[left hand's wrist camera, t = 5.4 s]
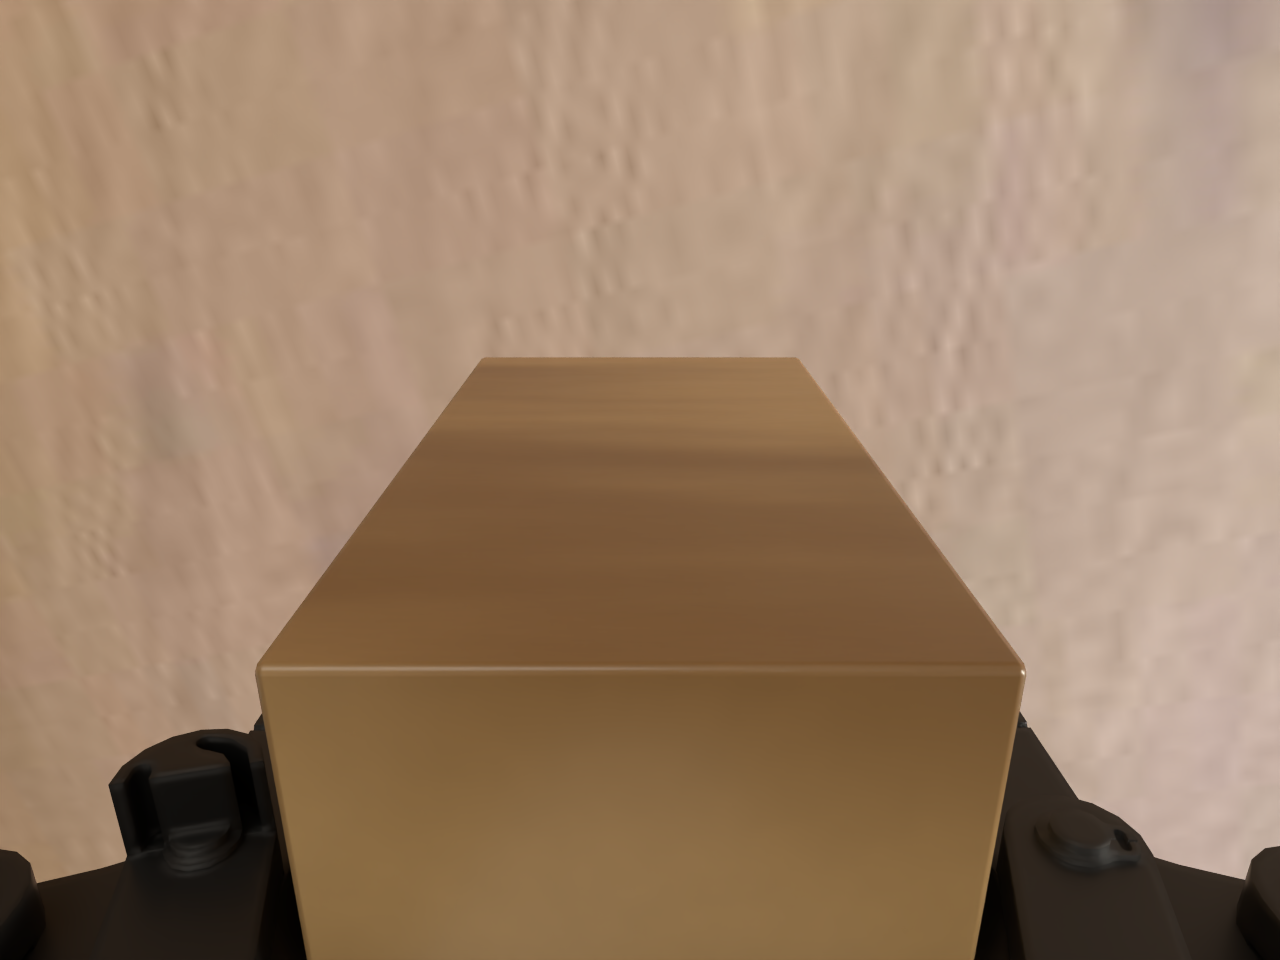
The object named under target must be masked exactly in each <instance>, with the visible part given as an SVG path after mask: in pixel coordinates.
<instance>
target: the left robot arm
mask: <svg viewBox="0 0 1280 960" xmlns="http://www.w3.org/2000/svg"><path fill="white" fill-rule="evenodd" d="M109 789H110V793H111V797H112V800H113V804H114V808H115V812H116V815H117V819H118V823H119V827H120V830H121V834H122V838H123V842H124V846H125V849H126V853H127V858H126V860H125V861H124V862H121V863H118V864H114V865H111V866H108V867H104V868H101V869H97V870H92V871H88V872H84V873H79V874H75V875H71V876H66V877H62V878H58V879H53V880H49V881H45V882H40V883H36V880H35V877H34V874H33V870H32V867H31V864H30V863H29V862H28V861H27V860H26V859H25V858H24V857H22V856H21V855H20V854H19V853H18V852H14V851H8V850H1V849H0V960H307V956H306V951H305V946H304V940H303V935H302V929H301V924H300V918H299V913H298V907H297V902H296V896H295V891H294V885H293V880H292V874H291V869H290V863H289V858H288V852H287V847H286V841H285V836H284V830H283V825H282V819H281V814H280V808H279V803H278V797H277V792H276V786H275V781H274V775H273V770H272V764H271V759H270V753H269V748H268V742H267V737H266V731H265V726H264V720H263V715H262V714H261V716H260V717H259V719H258V720H257V722H256V723H255V725H254V731H250V732H249V734H246V733H242V732H238V731H234V730H230V729H211V730H199V731H195V732H191V733H187V734H183V735H178V736H174V737H171V738H169V739H167V740H165V741H163V742H160V743H158V744H156V745H154V746H152V747H149V748H147V749H145V750H144V751H142V752H141V753H139V754H138V755H137V756H135V757H134V758H133V759H131V760H130V761H129V762H127V763H126V764H125V765H123V766H122V767H121V769H120V770H119V771H118V773H117V774H116V775H115V777H114V778H113V779H112V781H111V782H110V783H109ZM974 960H1280V846H1277V847H1271V848H1265V849H1264V850H1263V851H1261V852H1260V853H1259V854H1258V855H1257V856H1255V857H1254V858H1253V859H1252V860H1251V863H1250V867H1249V870H1248V873H1247V876H1246V879H1245V880H1243V879H1238V878H1234V877H1230V876H1225V875H1221V874H1217V873H1212V872H1208V871H1204V870H1199V869H1195V868H1191V867H1186V866H1182V865H1178V864H1175V863H1172V862H1168V861H1165V860H1162V859H1158V858H1155V857H1154V856H1153V854H1152V853H1151V851H1150V849H1149V848H1148V846H1147V845H1146V843H1145V842H1144V840H1143V838H1142V837H1141V835H1140V834H1139V833H1137V832H1136V831H1135V830H1134V829H1133V828H1131V827H1130V826H1129V825H1128V824H1127V823H1125V822H1124V821H1123V820H1122V819H1121V818H1119V817H1118V816H1116V815H1114V814H1112V813H1110V812H1108V811H1106V810H1104V809H1102V808H1100V807H1098V806H1096V805H1094V804H1093V803H1089V802H1085V801H1082V800H1079V799H1078V798H1077V796H1076V795H1075V793H1074V792H1073V790H1072V789H1071V787H1070V786H1069V784H1068V783H1067V781H1066V780H1065V778H1064V777H1063V776H1062V774H1061V773H1060V771H1059V770H1058V768H1057V767H1056V765H1055V764H1054V762H1053V761H1052V759H1051V758H1050V756H1049V755H1048V753H1047V752H1046V750H1045V749H1044V747H1043V746H1042V744H1041V743H1040V741H1039V740H1038V738H1037V737H1036V735H1035V734H1034V732H1033V731H1032V729H1031V728H1028V727H1027V722H1026V720H1025V719H1024V717H1023V716H1022V714H1021V713H1020V711H1019V717H1018V722H1017V728H1016V733H1015V738H1014V744H1013V749H1012V755H1011V760H1010V766H1009V771H1008V777H1007V782H1006V788H1005V793H1004V799H1003V804H1002V810H1001V815H1000V821H999V826H998V831H997V837H996V842H995V848H994V853H993V859H992V864H991V870H990V875H989V881H988V886H987V892H986V897H985V903H984V908H983V913H982V919H981V924H980V930H979V935H978V941H977V946H976V952H975V957H974Z"/></svg>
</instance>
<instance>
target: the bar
mask: <svg viewBox="0 0 1280 960" xmlns="http://www.w3.org/2000/svg"><path fill="white" fill-rule="evenodd" d="M255 676H256V682H257V687H258V693H259V698H260V704H261V709H262V715H263V720H264V726H265V731H266V737H267V742H268V748H269V753H270V759H271V764H272V770H273V775H274V781H275V786H276V792H277V797H278V803H279V808H280V814H281V819H282V825H283V830H284V836H285V841H286V847H287V852H288V858H289V863H290V869H291V874H292V880H293V885H294V891H295V896H296V902H297V907H298V913H299V918H300V924H301V929H302V935H303V940H304V946H305V951H306V956H307V960H974V957H975V952H976V946H977V941H978V935H979V930H980V924H981V919H982V913H983V908H984V903H985V897H986V892H987V886H988V881H989V875H990V870H991V864H992V859H993V853H994V848H995V842H996V837H997V831H998V826H999V821H1000V815H1001V810H1002V804H1003V799H1004V793H1005V788H1006V782H1007V777H1008V771H1009V766H1010V760H1011V755H1012V749H1013V744H1014V738H1015V733H1016V728H1017V722H1018V717H1019V711H1020V706H1021V700H1022V695H1023V689H1024V684H1025V678H1026V669H1025V666H1024V663H1023V662H1022V660H1021V659H1020V658H1019V656H1018V655H1017V654H1016V652H1015V651H1014V650H1013V648H1012V647H1011V646H1010V644H1009V643H1008V641H1007V640H1006V639H1005V637H1004V636H1003V635H1002V633H1001V632H1000V631H999V629H998V628H997V627H996V625H995V624H994V623H993V621H992V620H991V618H990V617H989V616H988V614H987V613H986V612H985V610H984V609H983V608H982V606H981V605H980V604H979V602H978V601H977V600H976V598H975V597H974V595H973V594H972V593H971V591H970V590H969V589H968V587H967V586H966V585H965V583H964V582H963V581H962V579H961V578H960V577H959V575H958V574H957V572H956V571H955V570H954V568H953V567H952V566H951V564H950V563H949V562H948V560H947V559H946V558H945V556H944V555H943V554H942V552H941V551H940V549H939V548H938V547H937V545H936V544H935V543H934V541H933V540H932V539H931V537H930V536H929V535H928V533H927V532H926V531H925V529H924V528H923V527H922V525H921V524H920V522H919V521H918V520H917V518H916V517H915V516H914V514H913V513H912V512H911V510H910V509H909V508H908V506H907V505H906V504H905V502H904V501H903V499H902V498H901V497H900V495H899V494H898V493H897V491H896V490H895V489H894V487H893V486H892V485H891V483H890V482H889V481H888V479H887V478H886V476H885V475H884V474H883V472H882V471H881V470H880V468H879V467H878V466H877V464H876V463H875V462H874V460H873V459H872V458H871V456H870V455H869V453H868V452H867V451H866V449H865V448H864V447H863V445H862V444H861V443H860V441H859V440H858V439H857V437H856V436H855V435H854V433H853V432H852V430H851V429H850V428H849V426H848V425H847V424H846V422H845V421H844V420H843V418H842V417H841V416H840V414H839V413H838V412H837V410H836V409H835V407H834V406H833V405H832V403H831V402H830V401H829V399H828V398H827V397H826V395H825V394H824V393H823V391H822V390H821V389H820V387H819V386H818V384H817V383H816V382H815V380H814V379H813V378H812V376H811V375H810V374H809V372H808V371H807V370H806V368H805V367H804V366H803V364H802V363H801V361H800V360H799V359H797V358H483V359H481V361H480V362H479V363H478V365H477V366H476V368H475V369H474V370H473V372H472V373H471V374H470V376H469V377H468V378H467V380H466V381H465V382H464V384H463V385H462V387H461V388H460V389H459V391H458V392H457V393H456V395H455V396H454V397H453V399H452V400H451V401H450V403H449V404H448V406H447V407H446V408H445V410H444V411H443V412H442V414H441V415H440V416H439V418H438V419H437V420H436V422H435V423H434V425H433V426H432V427H431V429H430V430H429V431H428V433H427V434H426V435H425V437H424V438H423V440H422V441H421V442H420V444H419V445H418V446H417V448H416V449H415V450H414V452H413V453H412V454H411V456H410V457H409V459H408V460H407V461H406V463H405V464H404V465H403V467H402V468H401V469H400V471H399V472H398V473H397V475H396V476H395V478H394V479H393V480H392V482H391V483H390V484H389V486H388V487H387V488H386V490H385V491H384V492H383V494H382V495H381V497H380V498H379V499H378V501H377V502H376V503H375V505H374V506H373V507H372V509H371V510H370V511H369V513H368V514H367V516H366V517H365V518H364V520H363V521H362V522H361V524H360V525H359V526H358V528H357V529H356V531H355V532H354V533H353V535H352V536H351V537H350V539H349V540H348V541H347V543H346V544H345V545H344V547H343V548H342V550H341V551H340V552H339V554H338V555H337V556H336V558H335V559H334V560H333V562H332V563H331V564H330V566H329V567H328V569H327V570H326V571H325V573H324V574H323V575H322V577H321V578H320V579H319V581H318V582H317V583H316V585H315V586H314V588H313V589H312V590H311V592H310V593H309V594H308V596H307V597H306V598H305V600H304V601H303V602H302V604H301V605H300V607H299V608H298V609H297V611H296V612H295V613H294V615H293V616H292V617H291V619H290V620H289V622H288V623H287V624H286V626H285V627H284V628H283V630H282V631H281V632H280V634H279V635H278V636H277V638H276V639H275V641H274V642H273V643H272V645H271V646H270V647H269V649H268V650H267V651H266V653H265V654H264V655H263V657H262V658H261V660H260V661H259V662H258V664H257V667H256V670H255Z"/></svg>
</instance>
